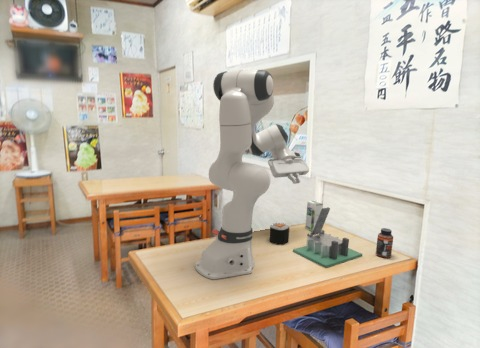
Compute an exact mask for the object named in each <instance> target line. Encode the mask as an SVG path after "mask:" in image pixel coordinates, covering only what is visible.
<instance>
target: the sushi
mask: <svg viewBox="0 0 480 348" xmlns="http://www.w3.org/2000/svg"><path fill="white" fill-rule="evenodd" d="M289 239H290V225H288V224H286V223H283V222H281V223H280V222H278V223H277V222H276V223H274V222H273V223H272V224H270V225H269V240H268V242H269V243H271V244H273V245H274V244H275V245H280V246H281V245H286V244H288V243H289V241H290V240H289Z"/></svg>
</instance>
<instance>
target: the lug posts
mask: <svg viewBox="0 0 480 348" xmlns="http://www.w3.org/2000/svg"><path fill="white" fill-rule="evenodd" d="M341 240H342V250H341V255H343V256H348V248H349V245H350V244H349V242H350V239H349V238H347V237H343V238H342V239H341ZM337 251H338V242H337V241H332V243H331V255H330V258H332V259H334V260H335V259H337Z"/></svg>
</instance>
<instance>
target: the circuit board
mask: <svg viewBox="0 0 480 348" xmlns="http://www.w3.org/2000/svg"><path fill="white" fill-rule="evenodd" d="M306 246H307V245H305V246H304V245H303V246H300V247H297V248H294V249H292V252H293V253H295V254H297V255H299V256H301V257H302V258H305V259H307V260H308V261H311V262H312V263H315V264H316V265H318V266H321V267H322V268H325V269H327V268H331V267H333V266H336V265H339V264H343V263H346V262H349V261H352V260H355V259H358V258H361V257H363V253H361V252H359V251H356V250H354V249H352V248H349V247H348V256H343V255H338V256H337V259H335V260H334V259H332V258H327V257H321V255H320V254H318V253H315V254H314V253H313V251H312V250H306Z"/></svg>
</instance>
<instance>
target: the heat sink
mask: <svg viewBox="0 0 480 348" xmlns="http://www.w3.org/2000/svg"><path fill="white" fill-rule="evenodd" d="M332 241H337V242H338V251H337V256H338V255H341V250H342V239H340V238H339V236H336V237H335V236H333V235H332V234H330V233H329V234H328V233H326V232H325V230H323V229H322V230H321V232H320V234H316V235H313V233H312V232H310V233H307V239H306V245H305V246H306V250H312V251H313V253H314V254H315V253H318V254H320V255H321V257H327V258H330V255H331V243H332Z"/></svg>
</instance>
